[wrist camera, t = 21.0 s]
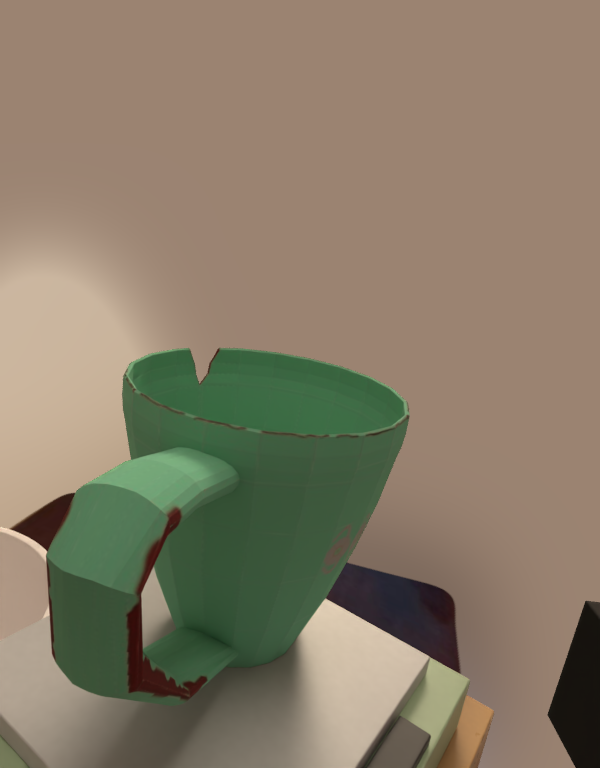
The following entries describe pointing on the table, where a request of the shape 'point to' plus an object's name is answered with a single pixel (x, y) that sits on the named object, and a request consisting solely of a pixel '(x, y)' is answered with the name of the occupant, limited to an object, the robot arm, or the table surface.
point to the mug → (218, 517)
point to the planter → (21, 582)
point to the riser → (468, 736)
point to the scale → (239, 705)
